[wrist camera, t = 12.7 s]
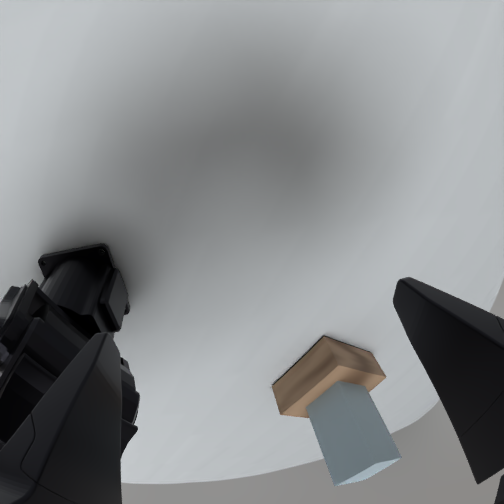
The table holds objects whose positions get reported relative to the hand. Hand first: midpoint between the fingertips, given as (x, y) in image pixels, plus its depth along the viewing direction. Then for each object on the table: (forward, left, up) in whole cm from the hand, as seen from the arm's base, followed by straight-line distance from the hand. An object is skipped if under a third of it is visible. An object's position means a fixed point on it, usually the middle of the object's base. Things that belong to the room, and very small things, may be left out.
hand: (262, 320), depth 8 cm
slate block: (+9, -23, -9) cm, 26 cm away
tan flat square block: (+9, -23, -13) cm, 28 cm away
